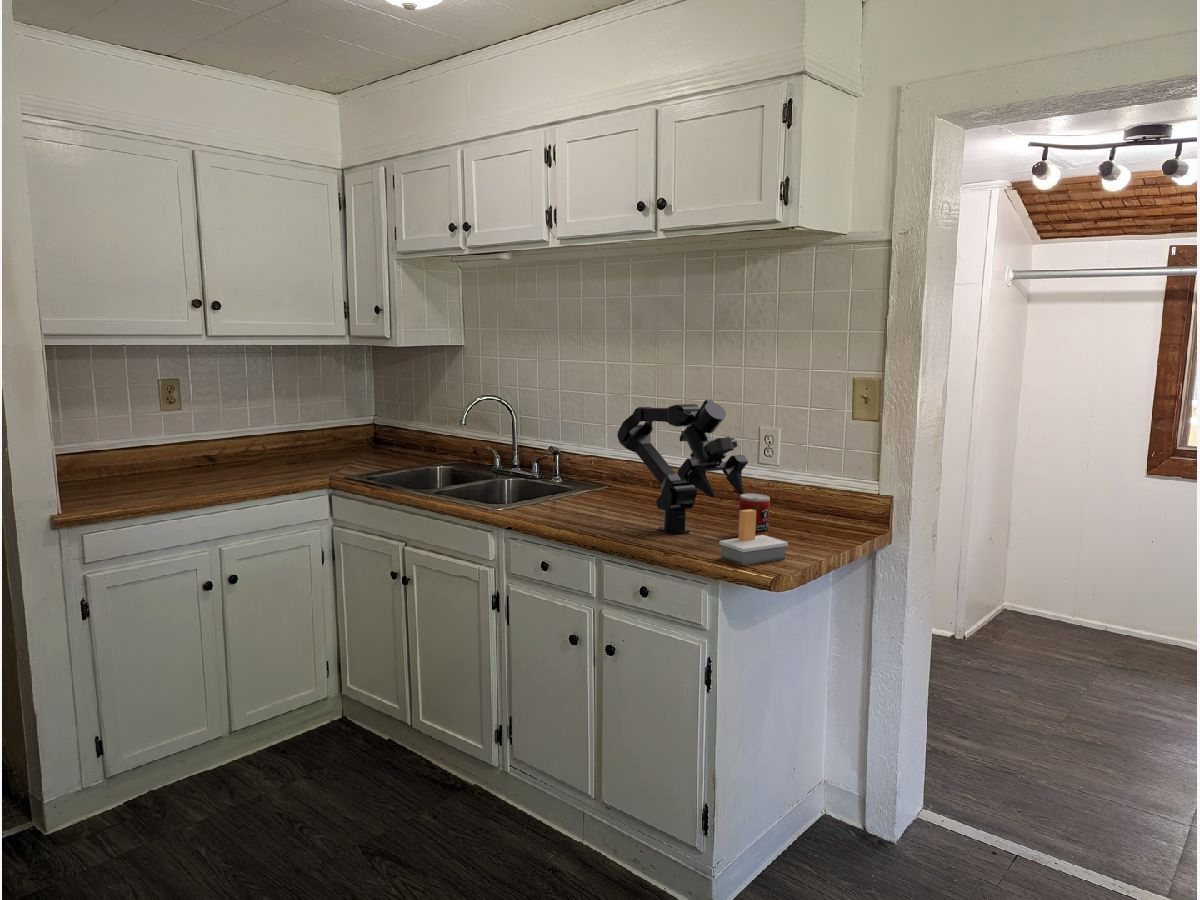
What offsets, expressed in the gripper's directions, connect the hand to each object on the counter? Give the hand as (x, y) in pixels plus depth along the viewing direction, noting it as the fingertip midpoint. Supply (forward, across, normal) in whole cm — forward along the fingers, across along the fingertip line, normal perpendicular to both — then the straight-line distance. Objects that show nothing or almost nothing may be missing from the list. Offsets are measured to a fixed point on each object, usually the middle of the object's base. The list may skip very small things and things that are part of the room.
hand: (727, 494), depth 210 cm
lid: (+14, 0, 0) cm, 14 cm away
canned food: (+6, +15, +14) cm, 21 cm away
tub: (+17, 0, +2) cm, 17 cm away
